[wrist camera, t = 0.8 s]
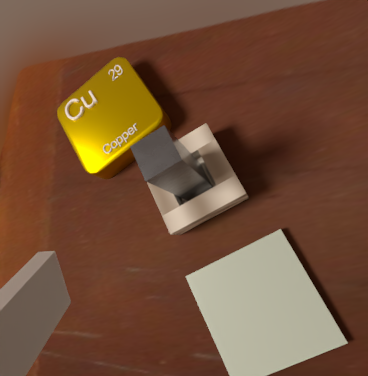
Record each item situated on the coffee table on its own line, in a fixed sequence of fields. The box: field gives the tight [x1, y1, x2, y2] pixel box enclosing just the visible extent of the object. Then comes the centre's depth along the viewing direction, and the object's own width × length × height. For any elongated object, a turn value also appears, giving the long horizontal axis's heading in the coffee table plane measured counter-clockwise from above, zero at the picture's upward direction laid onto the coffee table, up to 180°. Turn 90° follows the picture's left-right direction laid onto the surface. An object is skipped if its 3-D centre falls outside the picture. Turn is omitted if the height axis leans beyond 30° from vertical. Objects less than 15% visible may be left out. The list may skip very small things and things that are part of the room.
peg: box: [130, 125, 213, 201], centre depth 32 cm, size 4×4×14 cm
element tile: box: [57, 57, 172, 179], centre depth 44 cm, size 15×15×5 cm
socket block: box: [147, 123, 249, 235], centre depth 38 cm, size 11×11×4 cm
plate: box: [186, 229, 347, 376], centre depth 34 cm, size 14×14×1 cm
